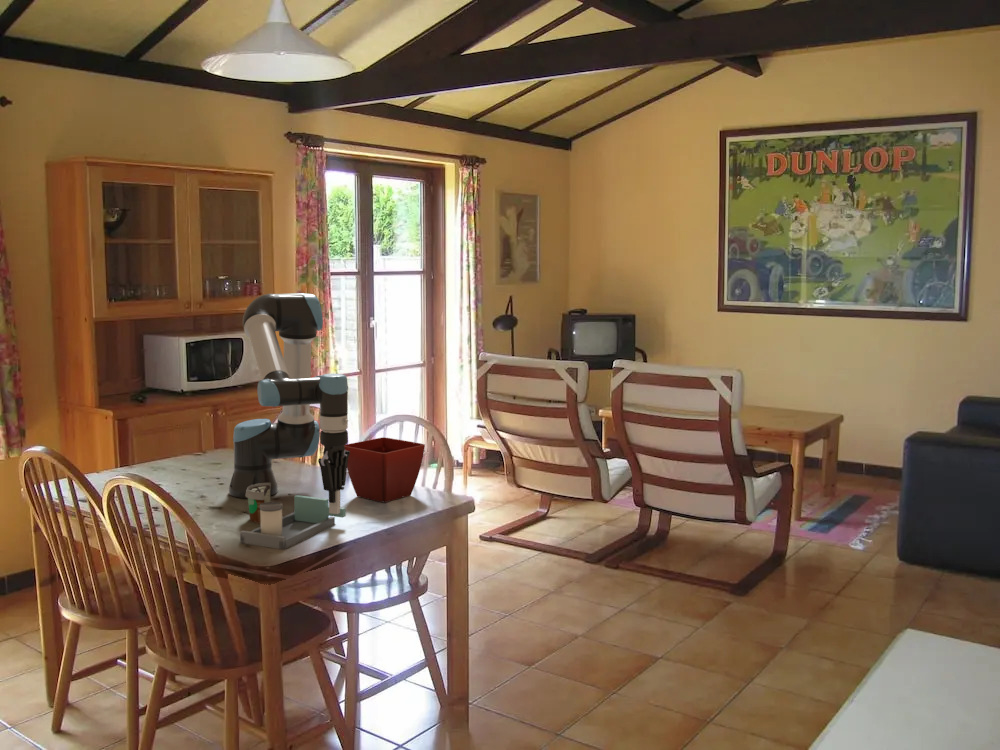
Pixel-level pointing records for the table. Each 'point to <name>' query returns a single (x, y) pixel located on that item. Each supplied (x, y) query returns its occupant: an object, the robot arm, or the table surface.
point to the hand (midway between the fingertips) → (334, 512)
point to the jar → (271, 518)
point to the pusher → (313, 509)
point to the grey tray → (286, 533)
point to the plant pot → (384, 468)
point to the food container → (257, 499)
